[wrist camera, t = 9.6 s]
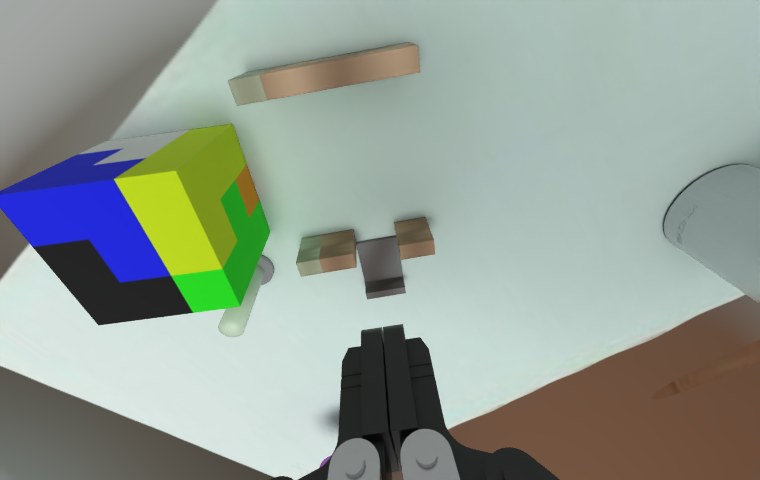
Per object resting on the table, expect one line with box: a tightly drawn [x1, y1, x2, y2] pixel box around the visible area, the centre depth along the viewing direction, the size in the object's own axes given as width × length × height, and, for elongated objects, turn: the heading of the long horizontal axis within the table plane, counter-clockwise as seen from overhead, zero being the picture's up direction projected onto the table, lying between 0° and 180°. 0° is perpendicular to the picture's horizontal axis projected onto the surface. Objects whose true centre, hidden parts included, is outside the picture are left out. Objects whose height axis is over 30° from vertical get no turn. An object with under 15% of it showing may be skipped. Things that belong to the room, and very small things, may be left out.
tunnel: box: [228, 42, 435, 299], centre depth 28 cm, size 12×22×4 cm, turn 9°
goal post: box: [218, 255, 274, 337], centre depth 30 cm, size 4×4×8 cm
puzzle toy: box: [0, 124, 270, 325], centre depth 25 cm, size 10×10×10 cm
